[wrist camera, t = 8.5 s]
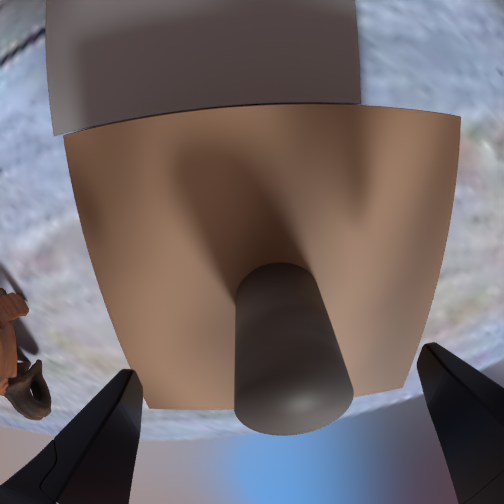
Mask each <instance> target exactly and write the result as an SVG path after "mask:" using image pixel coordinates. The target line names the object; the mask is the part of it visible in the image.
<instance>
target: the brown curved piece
mask: <svg viewBox="0 0 504 504" xmlns="http://www.w3.org/2000/svg"><path fill="white" fill-rule="evenodd" d="M28 312H29V308H28V306H27V304H26V303H25V301H24V299H23V297H22V296H21V295H20V294H15V293H13V292H12V293H9V294H7V293H6V291H5V290H4V289H3V288H0V395H2V396H5V397H6V398H7V399H8V400H9V401H10V402H11V404H12V405H13V406H14V408H15V409H16V410H17V411H18V412H19V413H20V414H22V415H23V416H25V417H26V418H28V419H31V420H41V419H42V418H43V417H46V416H47V415H49V414H50V413H51V396H50V392H49V389H48V386H47V384H46V382H45V380H44V378H43V375H42V361H41V360H37V361H36V363H35V364H34V365H32V366H31V368H30V369H29V367H30V365H31V363H30V361H27V362H21V363H18V362H17V359H18V358H17V350H16V335H15V331H14V326H13V323H12V321H13V320H15V319H16V318H18V317H19V316H26V315H27V313H28ZM28 369H29V370H28ZM30 388H31V391H32V394H33V396H32V394H31V391H30Z"/></svg>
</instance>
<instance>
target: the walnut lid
mask: <svg viewBox="0 0 504 504" xmlns="http://www.w3.org/2000/svg"><path fill="white" fill-rule="evenodd" d="M460 125H461V117H460V116H455V115H450V114H444V113H437V112H430V111H422V110H413V109H404V108H393V107H381V106H366V105H344V104H275V105H253V106H237V107H225V108H214V109H204V110H195V111H186V112H179V113H171V114H164V115H158V116H151V117H145V118H139V119H134V120H128V121H123V122H118V123H113V124H108V125H103V126H99V127H94V128H90V129H85V130H81V131H77V132H74V133H70V134H67V135H64V136H63V138H64V145H65V151H66V157H67V162H68V168H69V173H70V178H71V183H72V188H73V193H74V197H75V202H76V206H77V210H78V214H79V218H80V222H81V226H82V230H83V234H84V238H85V241H86V245H87V248H88V252H89V255H90V259H91V262H92V265H93V269H94V272H95V275H96V278H97V281H98V284H99V287H100V290H101V293H102V296H103V299H104V302H105V305H106V308H107V311H108V313H109V316H110V319H111V321H112V324H113V327H114V329H115V332H116V335H117V337H118V340H119V342H120V345H121V347H122V350H123V352H124V354H125V357H126V359H127V361H128V364H129V366H130V368H131V369H133V370H135V371H136V373H137V375H138V377H139V379H140V382H141V384H142V386H143V397H144V399H145V401H146V403H147V405H148V407H149V408H151V409H177V410H223V409H234V411H235V414H236V416H237V418H238V419H239V420H240V422H241V423H243V424H244V425H245V426H247V427H248V428H250V429H252V430H254V431H257V432H260V433H264V434H270V435H297V434H303V433H307V432H311V431H314V430H317V429H320V428H322V427H324V426H326V425H328V424H330V423H332V422H333V421H335V420H336V419H338V418H339V417H340V416H341V415H343V414H344V413H345V412H346V410H347V409H348V408H349V406H350V404H351V403H352V400H353V397H357V396H363V395H369V394H374V393H379V392H384V391H389V390H394V389H399V388H403V386H404V383H405V381H406V378H407V376H408V373H409V370H410V368H411V365H412V362H413V360H414V357H415V354H416V351H417V348H418V345H419V343H420V340H421V337H422V333H423V330H424V327H425V324H426V321H427V318H428V314H429V311H430V307H431V304H432V300H433V297H434V293H435V289H436V285H437V281H438V277H439V273H440V269H441V265H442V260H443V256H444V251H445V246H446V241H447V236H448V231H449V225H450V220H451V214H452V207H453V200H454V193H455V186H456V177H457V168H458V157H459V144H460Z"/></svg>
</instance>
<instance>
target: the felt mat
mask: <svg viewBox="0 0 504 504" xmlns="http://www.w3.org/2000/svg"><path fill="white" fill-rule="evenodd" d="M46 64H47V80H48V92H49V102H50V111H51V119H52V127H53V134H54V136H57V135H60V134H64V133H68V132H72V131H76V130H80V129H84V128H88V127H93V126H97V125H102V124H106V123H111V122H116V121H121V120H126V119H131V118H137V117H143V116H149V115H155V114H161V113H168V112H175V111H182V110H190V109H199V108H208V107H219V106H230V105H244V104H261V103H291V102H328V103H357V104H361V88H360V64H359V47H358V33H357V22H356V11H355V2H354V0H46Z"/></svg>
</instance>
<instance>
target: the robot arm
mask: <svg viewBox="0 0 504 504" xmlns="http://www.w3.org/2000/svg"><path fill="white" fill-rule="evenodd" d="M417 370H418V374H419V377H420V381H421V385H422V388H423V392H424V396H425V400H426V403H427V407H428V410H429V413H430V415H431V418H432V421H433V424H434V427H435V430H436V432H437V435H438V438H439V441H440V444H441V447H442V450H443V453H444V456H445V459H446V463H447V466H448V469H449V472H450V475H451V479H452V482H453V486H454V489H455V493H456V496H457V500H458V504H504V388H503V387H502V386H500V385H499V384H497V383H496V382H494V381H493V380H491V379H490V378H488V377H487V376H485V375H484V374H482V373H481V372H480V371H478V370H477V369H475V368H474V367H472V366H471V365H469V364H468V363H466V362H465V361H463V360H462V359H460V358H459V357H457V356H456V355H454V354H453V353H451V352H449V351H448V350H446V349H445V348H443V347H442V346H440V345H439V344H437V343H435V342H432V343H428V344H424V346H423V347H422V350H421V352H420V355H419V358H418V361H417ZM142 403H143V386H142V384H141V382H140V379H139V377H138V375H137V373H136V371H135V370H133V369H122V370H121V371H119V373H118V374H117V375H116V376H115V377H114V378H113V379H112V380H111V381H110V382H109V383H108V384H107V385H106V386H105V387H104V388H103V389H102V390H101V391H100V392H99V393H98V394H97V395H96V396H95V397H94V398H93V399H92V400H91V401H90V402H89V403H88V404H87V405H86V406H85V407H84V408H83V409H82V410H81V411H80V412H79V413H78V414H77V415H76V416H75V417H74V418H73V419H72V420H71V421H70V422H69V423H68V424H67V425H66V426H65V427H64V428H63V430H62V431H61V432H60V433H59V434H58V435H57V436H56V437H55V438H54V440H52V441H51V442H50V443H49V444H48V445H47V446H46V447H45V448H44V449H43V450H42V451H41V452H40V453H39V454H38V455H37V456H36V457H34V458H33V459H32V460H31V461H30V462H29V463H28V464H26V465H25V466H24V467H23V468H21V469H20V470H19V471H18V472H17V473H15V474H14V475H13V476H12V477H10V478H9V479H8V480H7V481H6V482H4V483H3V484H2V485H0V504H129V497H130V491H131V484H132V478H133V471H134V466H135V460H136V454H137V449H138V444H139V438H140V430H141V416H142Z"/></svg>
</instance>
